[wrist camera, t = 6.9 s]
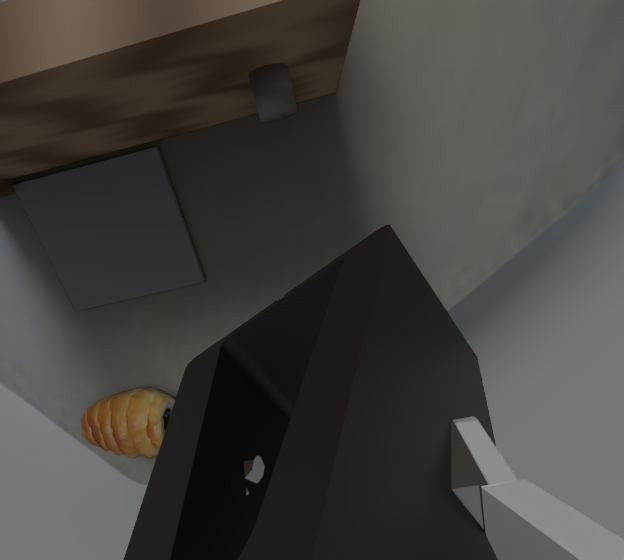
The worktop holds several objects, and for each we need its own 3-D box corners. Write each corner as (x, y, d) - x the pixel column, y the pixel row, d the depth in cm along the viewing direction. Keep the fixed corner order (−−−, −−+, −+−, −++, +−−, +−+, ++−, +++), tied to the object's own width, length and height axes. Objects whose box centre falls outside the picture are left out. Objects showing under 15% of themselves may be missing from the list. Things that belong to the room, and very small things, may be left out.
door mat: (158, 147, 24) (155, 146, 24) (205, 280, 28) (204, 281, 27) (16, 185, 25) (12, 185, 25) (78, 309, 28) (75, 311, 28)
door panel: (327, 45, 22) (356, -245, 7) (341, 121, 24) (392, 20, 8) (-42, 148, 24) (-632, 98, 9) (-8, 212, 26) (-467, 262, 11)
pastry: (102, 442, 33) (76, 475, 30) (82, 388, 31) (51, 415, 28) (189, 436, 33) (174, 467, 29) (175, 380, 31) (156, 407, 27)
